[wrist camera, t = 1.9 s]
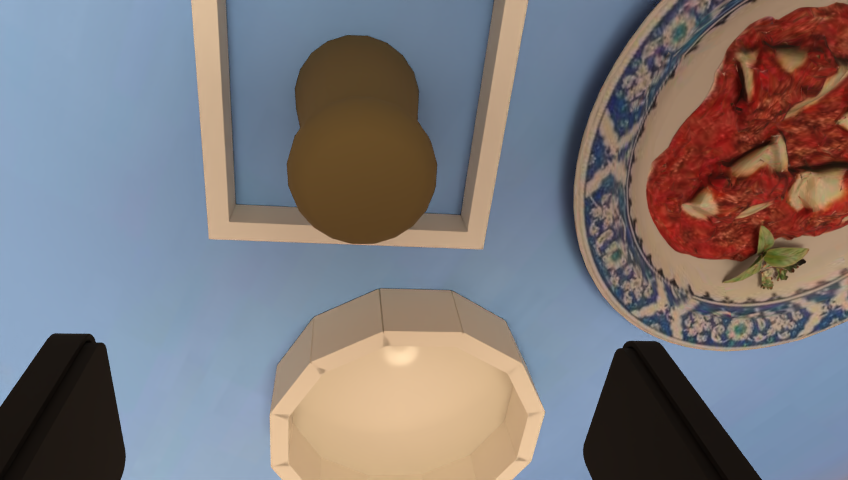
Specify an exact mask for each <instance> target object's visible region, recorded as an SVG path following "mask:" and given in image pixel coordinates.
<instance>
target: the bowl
mask: <svg viewBox="0 0 848 480" xmlns="http://www.w3.org/2000/svg"><path fill="white" fill-rule="evenodd" d="M544 414H545V411H544V408H543V406H542V403H541V401H540V398H539V396H538V393H537V391H536V388H535V386H534V383H533V381H532V378H531V376H530V373H529V371H528V368H527V366H526V364H525V362H524V359H523V357H522V355H521V353H520V351H519V349H518V347H517V344H516V342H515V340H514V338H513V336H512V334H511V332H510V329H509V327H508V325H507V323H506V321H505V320H503V319H502V318H500V317H498V316H496V315H495V314H493V313H491V312H489V311H487V310H486V309H484V308H482V307H480V306H478V305H477V304H475V303H473V302H471V301H470V300H468V299H466V298H464V297H462V296H461V295H459V294H457V293H455V292H453V291H451V290H419V289H381V288H380V290H379V289H377V290H375V291H372V292H370V293H368V294H366V295H363V296H361V297H359V298H356V299H354V300H352V301H350V302H347V303H345V304H343V305H340V306H338V307H336V308H334V309H331V310H329V311H327V312H324V313H322V314H320V315H318V316H315V317H314V318H313V319H312V320H311V321H310V323H309V324H308V325H307V327H306V328H305V329H304V331H303V332H302V333H301V335H300V336H299V337H298V339H297V340H296V341H295V343H294V344H293V345H292V347H291V348H290V349H289V350H288V352H287V353H286V354H285V356H284V357H283V358H282V360H281V361H280V362H279V364H278V365H277V370H276V377H275V383H274V390H273V397H272V404H271V410H270V443H271V468H272V469H273V470H274V471H275V472H276V473H277V474H278V475H279V477H280V478H281V479H282V480H512V479H513V478H514V477H515V476H516V475H517V474H518V473H519V472H520V471H522V470H523V469H524V468H525V467H526V466H527V465H528V464H529V463H530V461H531V460H532V456H533V453H534V449H535V446H536V442H537V439H538V435H539V432H540V428H541V425H542V421H543V417H544Z"/></svg>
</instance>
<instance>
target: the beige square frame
mask: <svg viewBox="0 0 848 480" xmlns="http://www.w3.org/2000/svg"><path fill="white" fill-rule="evenodd" d="M191 3H192V16H193V30H194V43H195V57H196V70H197V83H198V97H199V110H200V124H201V137H202V151H203V164H204V177H205V191H206V204H207V218H208V231H209V239H221V240H248V241H274V242H301V243H327V244H350V243H347V242H343V241H339V240H335V239H332V238H330V237H328V236H327V235H325V234H323V233H322V232H320V231H319V230H317V229H315V228H314V227H313V226H312V225H311V224H310V223H309V222H308V221H307V220H306V219H305V217H304V216H303V215H302V214H301V213H300V212H299V210H298V207H280V206H258V205H237V204H236V202H235V181H234V160H233V140H232V119H231V98H230V77H229V57H228V36H227V15H226V0H191ZM527 4H528V0H494V5H493V12H492V18H491V25H490V31H489V37H488V44H487V50H486V57H485V63H484V69H483V76H482V82H481V89H480V95H479V101H478V108H477V114H476V121H475V127H474V134H473V140H472V146H471V153H470V159H469V166H468V172H467V178H466V185H465V191H464V198H463V204H462V210H461V215H451V214H429V213H424V214H423V215H422V216H421V217H420V219H419V220H418V221H417V222H416V223H415V224H414V226H413V227H411V228H410V229H408V230H406V231H405V232H403V233H402V234H400V235H399V236H397V237H395V238H393V239H389V240H386V241H382V242H379V243H376V244H354V245H381V246H407V247H434V248H460V249H483V246H484V241H485V235H486V230H487V224H488V219H489V213H490V208H491V202H492V197H493V191H494V186H495V180H496V175H497V169H498V164H499V158H500V153H501V147H502V142H503V136H504V131H505V125H506V120H507V114H508V109H509V103H510V98H511V92H512V87H513V81H514V76H515V70H516V65H517V59H518V54H519V48H520V43H521V37H522V32H523V26H524V21H525V15H526V10H527Z"/></svg>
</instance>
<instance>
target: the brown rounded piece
mask: <svg viewBox="0 0 848 480" xmlns="http://www.w3.org/2000/svg"><path fill="white" fill-rule="evenodd" d="M295 99H296V110H297V115H298V120H299V125H300V130H299V131H298V132H297V134H296V135H295V137H294V140H293V144H292V147H291V151H290V154H289V158H288V161H287V174H288V186H289V189H290V191H291V193H292V196H293V198H294V200H295V203H296V205H297V207H298V210H299V212H300V213H301V214H302V215H303V216H304V217H305V219H306V220H307V221H308V222H309V223H310V224H311V225H312V226H313V227H314V228H315V229H317V230H319V231H320V232H322V233H323V234H325V235H327V236H328V237H330V238H332V239H335V240H339V241H343V242H347V243H350V244H376V243H379V242H382V241H386V240H389V239H393V238H395V237H397V236H399V235H400V234H402V233H403V232H405V231H406V230H408V229H410V228H411V227H413V226H414V224H415V223H416V222H417V221H418V220H419V219H420V217H421V216H422V215H423V214H424V213H425V212H426V210H427V208H428V205H429V203H430V201H431V198H432V196H433V193H434V191H435V187H436V175H437V162H436V158H435V155H434V151H433V147H432V144H431V141H430V139H429V137H428V135H427V134H426V133H425V131H424V130H423V128H422V127H421V125H420V124H419V122H418V121H417V119H418V100H419V89H418V86H417V82H416V78H415V75H414V72H413V70H412V69H411V67H410V66H409V64H408V63H407V61H406V60H405V58H404V57H403V55H402V54H400V53H399V52H398V51H396V50H395V49H394V48H393V47H391V46H390V45H389V44H388V43H386V42H383V41H380V40H378V39H375V38H372V37H370V36H356V35H346V36H343V37H340V38H337V39H333V40H330V41H327V42H326V43H325V44H323V45H322V46H320V47H319V48H318V49H316V50H315V51H314V52H312V53H311V54H310V56H309V57H308V59H307V60H306V62H305V63H304V65H303V66H302V68H301V69H300V72H299V75H298V79H297V83H296V86H295Z"/></svg>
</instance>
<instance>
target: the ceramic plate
mask: <svg viewBox="0 0 848 480" xmlns="http://www.w3.org/2000/svg"><path fill="white" fill-rule="evenodd" d="M573 209H574V219H575V229H576V234H577V238H578V243H579V247H580V250H581V253H582V256H583V259H584V262H585V265H586V267H587V270H588V272H589V274H590V275H591V277H592V279H593V281H594V283H595V284H596V286H597V288H598V289H599V291H600V292H601V294H602V295H603V297H604V298H605V299H606V300H607V301H608V302H609V303H610V305H611V306H612V307H613V308H614V309H615V310H616V311H617V312H618V313H620V314H621V315H622V316H623V317H624V318H625V319H627V320H628V321H629V322H630V323H632V324H633V325H635V326H636V327H638V328H639V329H641V330H643V331H645V332H647V333H649V334H651V335H652V336H654V337H657V338H660V339H662V340H665V341H667V342H670V343H674V344H677V345H681V346H685V347H690V348H696V349H702V350H715V351H739V350H749V349H758V348H764V347H770V346H776V345H780V344H784V343H789V342H793V341H797V340H801V339H804V338H806V337H809V336H812V335H814V334H817V333H820V332H822V331H825V330H827V329H830V328H832V327H835V326H837V325H839V324H841V323H844V322H846V321H848V0H661V1H660V2H659V3H658V4H657V6H656V7H655V8H654V9H653V10H652V11H651V12H650V14H649V15H648V16H647V17H646V18H645V20H644V21H643V22H642V24H641V25H640V26H639V28H638V29H637V30H636V32H635V33H634V34H633V36H632V37H631V38H630V40H629V41H628V43H627V44H626V46H625V48H624V49H623V51H622V52H621V54H620V55H619V57H618V59H617V60H616V62H615V63H614V65H613V67H612V69H611V71H610V72H609V74H608V76H607V78H606V80H605V82H604V84H603V86H602V88H601V90H600V92H599V94H598V97H597V99H596V101H595V104H594V106H593V109H592V111H591V113H590V116H589V119H588V122H587V125H586V128H585V131H584V134H583V138H582V141H581V145H580V150H579V155H578V159H577V164H576V172H575V180H574V203H573Z"/></svg>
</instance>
